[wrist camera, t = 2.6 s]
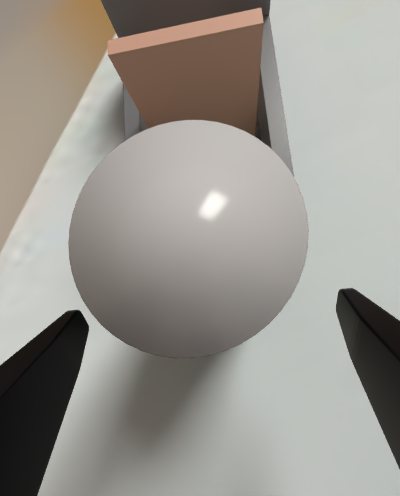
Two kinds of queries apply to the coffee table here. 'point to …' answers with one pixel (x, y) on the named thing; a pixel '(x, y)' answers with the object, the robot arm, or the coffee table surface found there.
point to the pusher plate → (195, 70)
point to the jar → (188, 238)
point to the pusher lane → (196, 9)
